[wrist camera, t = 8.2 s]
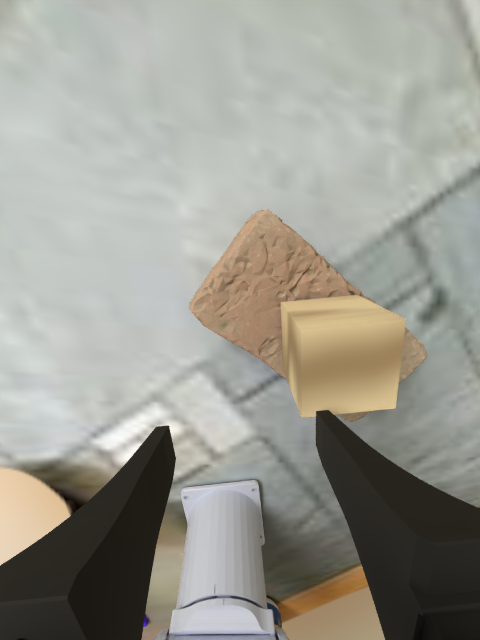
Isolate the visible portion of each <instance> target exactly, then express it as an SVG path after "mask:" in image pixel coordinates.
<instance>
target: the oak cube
mask: <svg viewBox="0 0 480 640" xmlns="http://www.w3.org/2000/svg"><path fill="white" fill-rule="evenodd" d="M281 324H282V349H283V371H284V373H285V376H286V379H287V381H288V384H289V386H290V389H291V391H292V394H293V397H294V399H295V402H296V404H297V407H298V409H299V412H300V415H301V417H302V418H306V417H316V411H321V410H329V411H330V412H331V413H333V414H334V415H336V414H346V413H356V412H365V411H375V410H385V409H395V408H396V400H397V392H398V383H399V375H400V367H401V359H402V350H403V342H404V334H405V325H406V319H404V318H402V317H400V316H398V315H396V314H394V313H392V312H390V311H388V310H386V309H385V308H383V307H381V306H379V305H377V304H375V303H373V302H371V301H369V300H367V299H365V298H363V297H361V296H359V295H350V296H340V297H329V298H319V299H308V300H298V301H288V302H281Z"/></svg>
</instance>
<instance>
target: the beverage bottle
mask: <svg viewBox="0 0 480 640" xmlns="http://www.w3.org/2000/svg"><path fill="white" fill-rule="evenodd" d="M266 600H267V609H271V610H273V618H274V627H275V629H278V628H281V629H282V623H281V615H280V611H279V608H278V606H277V605H276V604H275V603H274V602H273V601H272V600H271V599H269V598H267V597H266Z"/></svg>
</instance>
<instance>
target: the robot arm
mask: <svg viewBox="0 0 480 640" xmlns="http://www.w3.org/2000/svg"><path fill="white" fill-rule="evenodd" d="M316 447H317V450H318V453H319V456H320V459H321V462H322V466H323V468H324V470H325V473H326V475H327V477H328V479H329V482H330V484H331V486H332V488H333V491H334V493H335V495H336V497H337V500H338V502H339V504H340V506H341V509H342V511H343V513H344V515H345V518H346V520H347V523H348V526H349V528H350V531H351V534H352V537H353V540H354V543H355V546H356V549H357V552H358V555H359V558H360V561H361V564H362V567H363V570H364V573H365V576H366V579H367V582H368V585H369V588H370V591H371V594H372V598H373V601H374V604H375V607H376V610H377V614H378V617H379V620H380V624H381V627H382V630H383V633H384V637H385V640H480V508H477V507H475V506H473V505H470V504H468V503H466V502H464V501H461V500H459V499H457V498H455V497H453V496H451V495H449V494H447V493H445V492H443V491H441V490H439V489H437V488H435V487H433V486H431V485H429V484H427V483H426V482H424V481H422V480H420V479H419V478H417V477H415V476H413V475H412V474H410V473H408V472H407V471H405V470H403V469H402V468H400V467H399V466H397V465H396V464H394V463H393V462H391V461H390V460H388V459H387V458H385V457H384V456H382V455H381V454H380V453H378V452H377V451H376V450H374V449H373V448H372V447H370V446H369V445H368V444H367V443H365V442H364V441H363V440H362V439H361V438H359V437H358V436H357V435H356V434H355V433H354V432H352V431H351V430H350V429H349V428H348V427H347V426H346V425H345V424H343V423H342V422H341V421H340V420H339V419H338V418H337V417H336V416H335V415H334V414H333V413H331V412H330V411H329V410H321V411H316ZM175 461H176V457H175V452H174V448H173V443H172V438H171V433H170V429H169V426H159V427H156V428H155V429H154V430H153V431H152V433H151V434H150V435H149V436H148V438H147V439H146V440H145V441H144V443H143V444H142V445H141V446H140V447H139V449H138V450H137V451H136V452H135V453H134V455H133V456H132V457H131V458H130V459H129V461H128V462H127V463H126V464H125V465H124V466H123V467H122V468H121V469H120V471H119V472H118V473H117V474H116V475H115V476H114V477H113V478H112V479H111V480H110V481H109V482H108V483H107V484H106V485H105V486H104V487H103V488H102V489H101V490H100V491H99V492H98V493H97V494H96V495H95V496H94V497H92V498H91V499H90V500H89V501H88V502H87V503H86V504H84V505H83V506H82V507H81V508H80V509H78V510H77V511H76V512H75V513H74V514H72V515H71V516H70V517H69V518H68V519H66V520H65V521H64V522H63V523H61V524H60V525H59V526H58V527H56V528H55V529H53V530H52V531H51V532H49V533H48V534H47V535H45V536H44V537H42V538H41V539H40V540H38V541H37V542H35V543H34V544H32V545H31V546H29V547H28V548H26V549H25V550H23V551H22V552H20V553H19V554H17V555H16V556H14V557H13V558H11V559H10V560H8V561H7V562H5V563H3V564H2V565H1V566H0V640H141V638H142V631H143V624H144V618H145V611H146V604H147V597H148V591H149V585H150V578H151V572H152V566H153V561H154V555H155V549H156V544H157V539H158V535H159V531H160V527H161V523H162V519H163V516H164V512H165V508H166V504H167V501H168V497H169V493H170V489H171V485H172V481H173V475H174V468H175ZM254 488H255V489H254ZM181 498H182V503H183V507H184V511H185V515H186V519H187V523H188V528H187V535H186V542H185V550H184V557H183V564H182V571H181V578H180V585H179V592H178V599H177V606H176V609H174V610H173V612H172V618H171V625H170V632H169V629H161V630H160V631H159V633H158V635H157V636H156V638H155V639H154V640H289V639H288V637H287V636H286V634H285V632H284V630H283V629H281V628H278V629H275V627H274V618H273V610H271V609H267V600H266V590H265V580H264V570H263V560H262V550H261V545H264V543H265V539H264V530H263V520H262V511H261V502H260V493H259V484H258V481H256V480H248V481H239V482H230V483H221V484H212V485H203V486H194V487H185V488H183V489H182V490H181Z"/></svg>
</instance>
